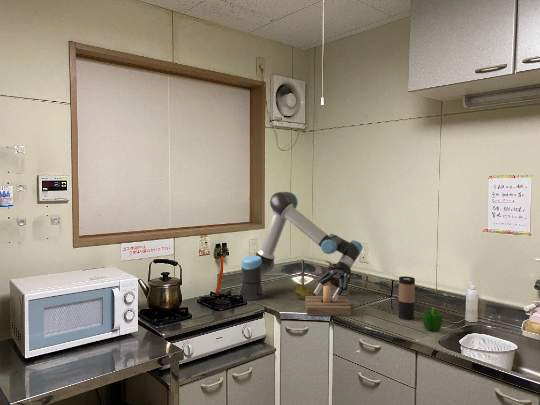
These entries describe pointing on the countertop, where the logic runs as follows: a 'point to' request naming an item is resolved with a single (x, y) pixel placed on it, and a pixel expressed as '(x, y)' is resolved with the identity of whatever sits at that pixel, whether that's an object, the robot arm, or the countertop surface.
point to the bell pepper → (432, 320)
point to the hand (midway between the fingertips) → (324, 296)
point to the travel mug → (406, 297)
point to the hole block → (327, 306)
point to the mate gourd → (336, 282)
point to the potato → (303, 291)
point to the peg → (326, 294)
